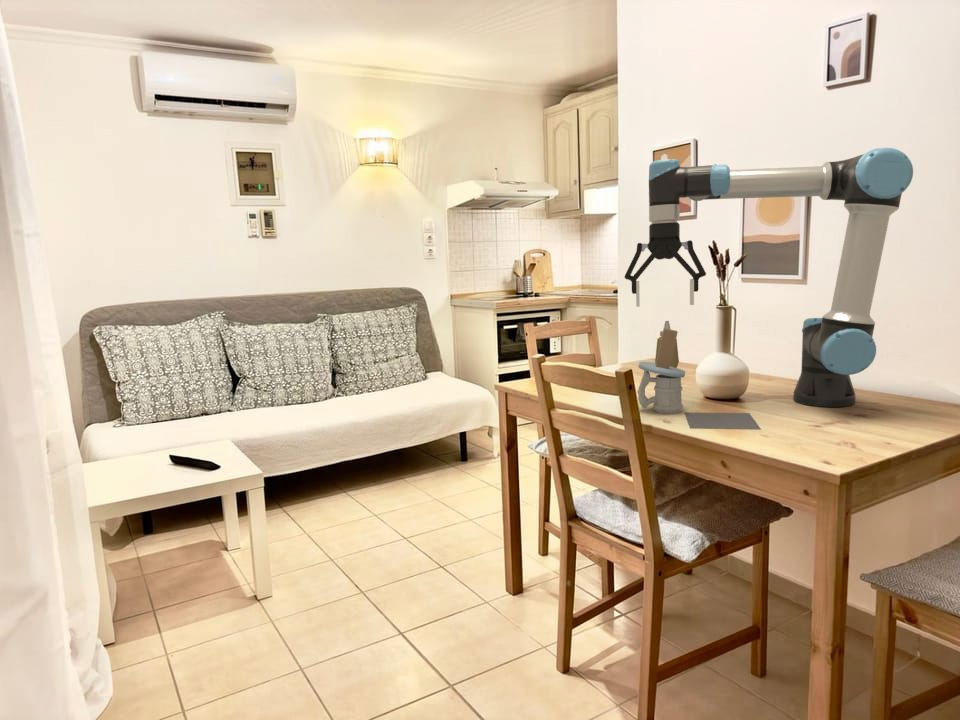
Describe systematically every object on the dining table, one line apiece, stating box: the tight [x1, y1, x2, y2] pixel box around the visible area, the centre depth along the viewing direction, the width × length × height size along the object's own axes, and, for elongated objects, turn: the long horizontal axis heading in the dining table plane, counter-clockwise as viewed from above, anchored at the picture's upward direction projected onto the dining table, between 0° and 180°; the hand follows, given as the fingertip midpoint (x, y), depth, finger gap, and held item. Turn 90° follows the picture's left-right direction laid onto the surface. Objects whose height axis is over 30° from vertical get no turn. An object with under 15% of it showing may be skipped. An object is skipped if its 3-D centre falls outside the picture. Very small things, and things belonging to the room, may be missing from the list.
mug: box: [637, 370, 684, 415], centre depth 179 cm, size 8×12×12 cm, turn 86°
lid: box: [637, 327, 686, 378], centre depth 177 cm, size 12×12×11 cm
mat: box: [684, 411, 762, 431], centre depth 167 cm, size 16×16×1 cm
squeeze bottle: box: [654, 320, 680, 368], centre depth 235 cm, size 8×8×18 cm
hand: (664, 305), depth 176 cm, fingers open, 13 cm apart
